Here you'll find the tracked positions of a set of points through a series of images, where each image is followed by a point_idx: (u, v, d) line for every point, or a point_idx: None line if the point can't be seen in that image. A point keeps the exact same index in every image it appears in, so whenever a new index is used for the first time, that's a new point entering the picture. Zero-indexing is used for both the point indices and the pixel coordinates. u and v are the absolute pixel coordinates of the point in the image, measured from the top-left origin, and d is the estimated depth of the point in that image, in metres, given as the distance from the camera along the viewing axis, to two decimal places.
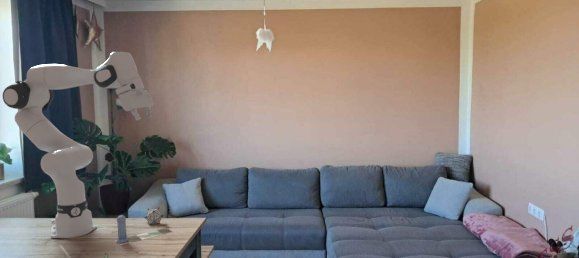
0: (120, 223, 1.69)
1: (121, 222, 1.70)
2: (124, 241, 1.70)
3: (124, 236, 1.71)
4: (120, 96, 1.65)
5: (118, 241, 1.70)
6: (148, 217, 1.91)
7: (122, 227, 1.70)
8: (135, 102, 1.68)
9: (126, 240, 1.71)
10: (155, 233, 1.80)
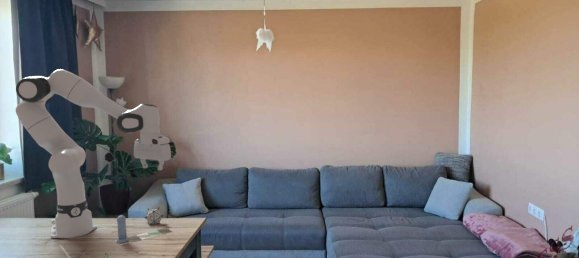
0: (120, 223, 1.69)
1: (121, 222, 1.69)
2: (124, 241, 1.70)
3: (124, 236, 1.71)
4: (163, 147, 1.83)
5: (118, 241, 1.70)
6: (148, 217, 1.91)
7: (122, 227, 1.70)
8: None
9: (126, 240, 1.71)
10: (155, 233, 1.80)
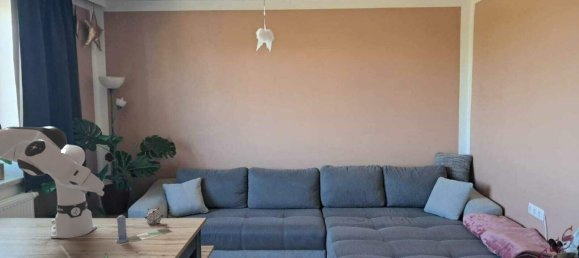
0: (120, 223, 1.69)
1: (121, 222, 1.70)
2: (124, 241, 1.70)
3: (124, 236, 1.71)
4: (88, 183, 1.46)
5: (118, 241, 1.70)
6: (148, 217, 1.91)
7: (122, 227, 1.70)
8: None
9: (126, 240, 1.71)
10: (155, 233, 1.80)
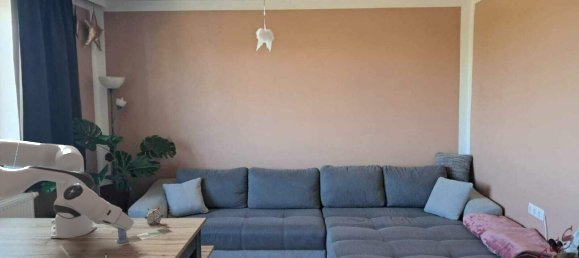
0: None
1: None
2: (124, 241, 1.70)
3: (124, 236, 1.71)
4: (119, 222, 1.59)
5: (118, 241, 1.70)
6: (148, 217, 1.91)
7: None
8: None
9: (126, 240, 1.71)
10: (155, 233, 1.80)
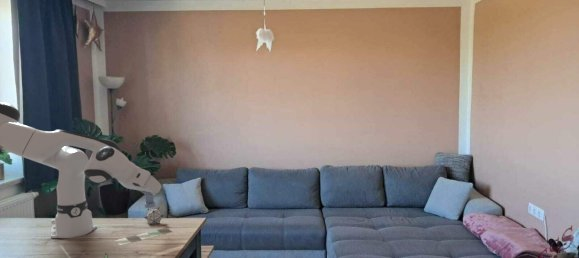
0: None
1: None
2: (151, 205, 1.76)
3: (151, 201, 1.76)
4: (148, 185, 1.65)
5: (146, 205, 1.76)
6: (148, 217, 1.91)
7: (149, 192, 1.75)
8: None
9: (153, 205, 1.76)
10: (155, 233, 1.80)
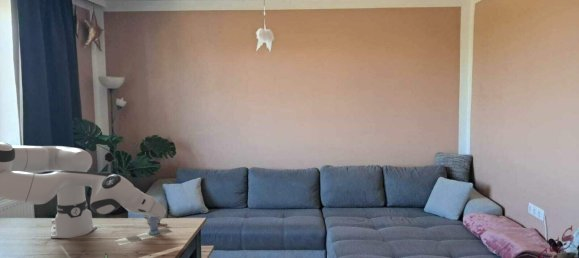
0: None
1: None
2: (156, 233, 1.79)
3: (156, 228, 1.79)
4: (154, 210, 1.68)
5: (150, 233, 1.78)
6: None
7: (154, 219, 1.78)
8: None
9: (158, 232, 1.79)
10: None
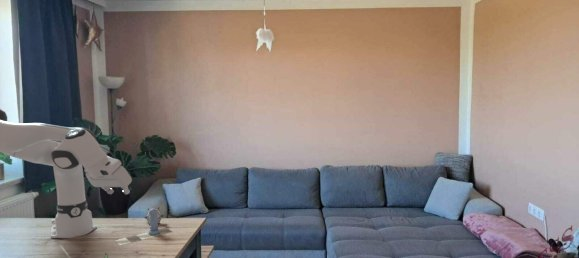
0: (152, 215, 1.78)
1: (153, 215, 1.78)
2: (156, 233, 1.79)
3: (156, 228, 1.79)
4: (117, 174, 1.51)
5: (150, 233, 1.78)
6: (148, 217, 1.91)
7: (154, 219, 1.78)
8: None
9: (158, 232, 1.79)
10: None
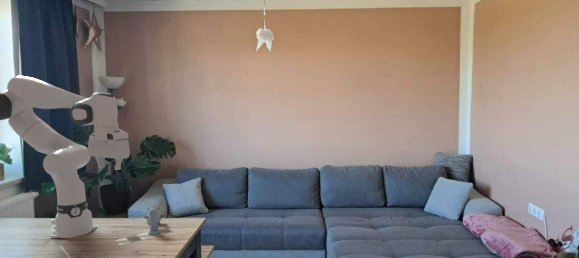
0: (152, 215, 1.78)
1: (153, 215, 1.78)
2: (156, 233, 1.79)
3: (156, 228, 1.79)
4: (120, 143, 1.57)
5: (150, 233, 1.78)
6: (148, 217, 1.91)
7: (154, 219, 1.78)
8: None
9: (158, 232, 1.79)
10: None
